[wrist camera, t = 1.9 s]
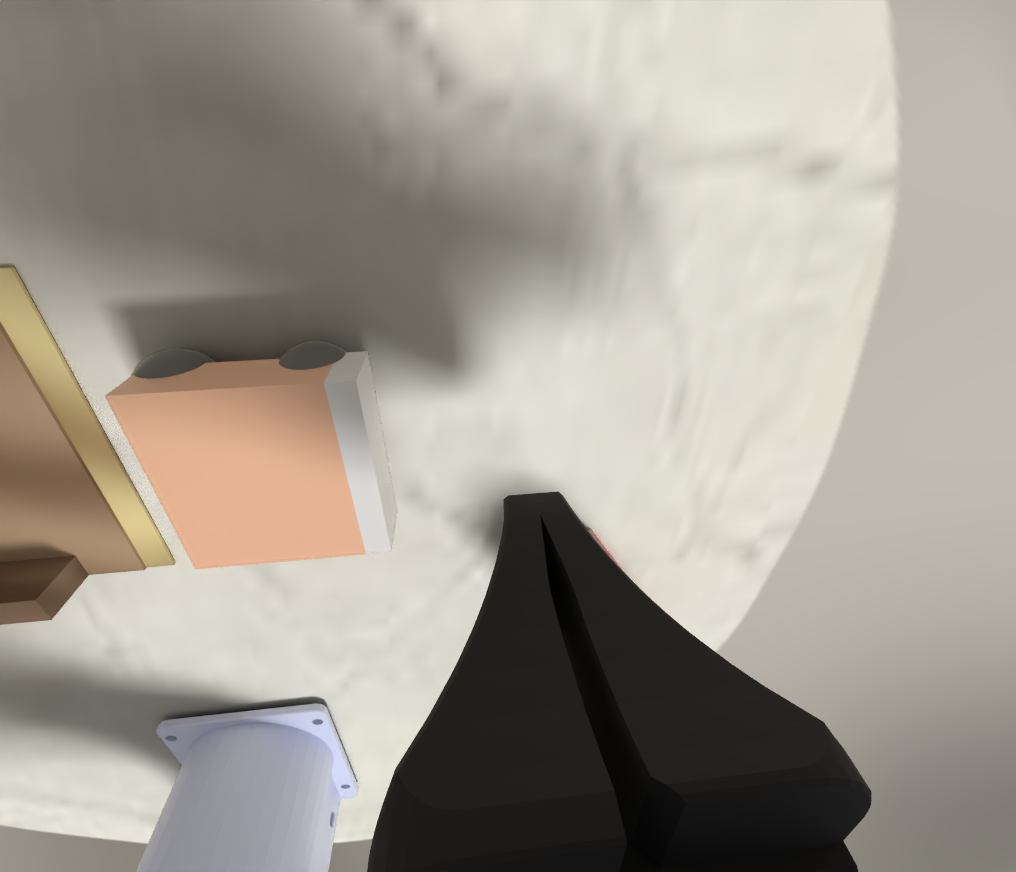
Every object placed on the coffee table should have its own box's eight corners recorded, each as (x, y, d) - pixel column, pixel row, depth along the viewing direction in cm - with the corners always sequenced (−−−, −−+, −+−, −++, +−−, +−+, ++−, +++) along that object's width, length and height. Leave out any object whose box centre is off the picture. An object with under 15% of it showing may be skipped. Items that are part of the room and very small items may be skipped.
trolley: (401, 501, 18) (393, 560, 15) (222, 516, 18) (182, 579, 15) (369, 326, 14) (352, 365, 12) (143, 338, 14) (75, 382, 11)
